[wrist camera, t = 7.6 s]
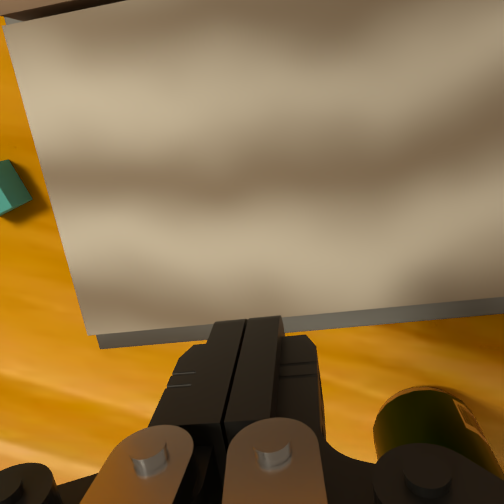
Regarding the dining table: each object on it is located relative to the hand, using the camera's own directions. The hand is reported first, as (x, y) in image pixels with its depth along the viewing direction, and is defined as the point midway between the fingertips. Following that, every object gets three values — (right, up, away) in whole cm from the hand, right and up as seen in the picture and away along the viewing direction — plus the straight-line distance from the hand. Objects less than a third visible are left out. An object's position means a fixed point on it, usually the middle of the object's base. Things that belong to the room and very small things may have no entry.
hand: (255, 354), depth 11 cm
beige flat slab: (+1, +7, +11) cm, 13 cm away
